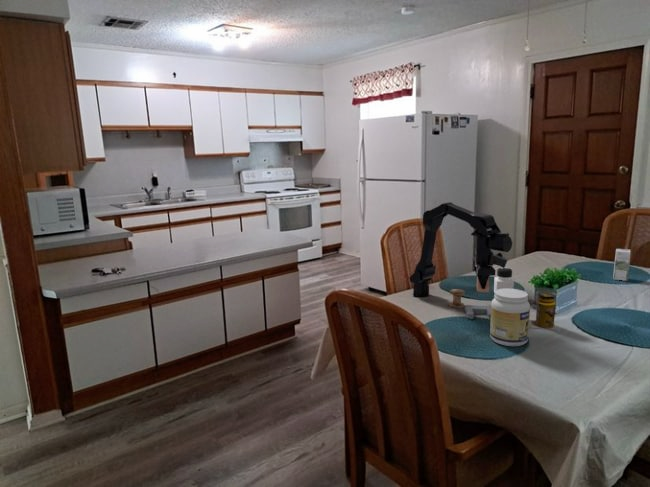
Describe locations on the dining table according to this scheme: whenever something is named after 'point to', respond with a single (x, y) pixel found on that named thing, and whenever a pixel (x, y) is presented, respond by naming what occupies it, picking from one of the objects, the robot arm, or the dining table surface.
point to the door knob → (457, 298)
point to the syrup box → (621, 264)
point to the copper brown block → (481, 288)
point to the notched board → (477, 310)
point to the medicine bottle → (503, 279)
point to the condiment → (544, 312)
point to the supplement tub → (510, 317)
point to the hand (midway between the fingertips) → (482, 287)
